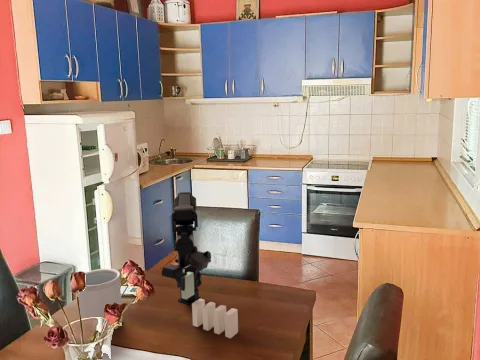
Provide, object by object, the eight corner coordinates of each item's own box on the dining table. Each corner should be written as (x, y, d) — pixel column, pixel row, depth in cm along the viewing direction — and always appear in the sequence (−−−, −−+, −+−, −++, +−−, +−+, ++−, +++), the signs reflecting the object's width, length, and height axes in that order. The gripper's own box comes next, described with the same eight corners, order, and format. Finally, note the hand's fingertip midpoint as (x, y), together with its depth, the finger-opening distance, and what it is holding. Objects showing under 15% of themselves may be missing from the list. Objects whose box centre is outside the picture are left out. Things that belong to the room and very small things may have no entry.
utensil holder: (70, 326, 149) (65, 278, 146) (107, 310, 160) (104, 264, 157) (94, 341, 139) (89, 289, 136) (132, 322, 151) (129, 274, 147)
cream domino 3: (214, 332, 142) (213, 310, 141) (222, 326, 146) (221, 304, 145) (219, 334, 141) (218, 311, 140) (226, 328, 145) (226, 306, 144)
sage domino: (181, 298, 148) (180, 275, 147) (190, 293, 152) (188, 271, 150) (186, 299, 147) (185, 277, 146) (194, 294, 151) (193, 272, 149)
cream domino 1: (192, 325, 147) (191, 303, 146) (201, 320, 151) (200, 298, 150) (197, 327, 146) (196, 304, 145) (205, 321, 150) (204, 299, 148)
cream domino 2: (203, 329, 145) (202, 306, 144) (211, 323, 149) (210, 301, 147) (208, 330, 144) (207, 308, 142) (216, 325, 147) (215, 302, 146)
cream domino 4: (225, 336, 140) (224, 313, 139) (233, 330, 144) (232, 307, 142) (230, 338, 139) (229, 315, 137) (238, 332, 142) (237, 309, 141)
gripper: (185, 257, 134) (187, 304, 137) (221, 240, 149) (222, 283, 152) (159, 251, 140) (161, 296, 143) (196, 235, 156) (197, 276, 158)
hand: (187, 287), depth 149 cm, fingers closed on sage domino, 4 cm apart
